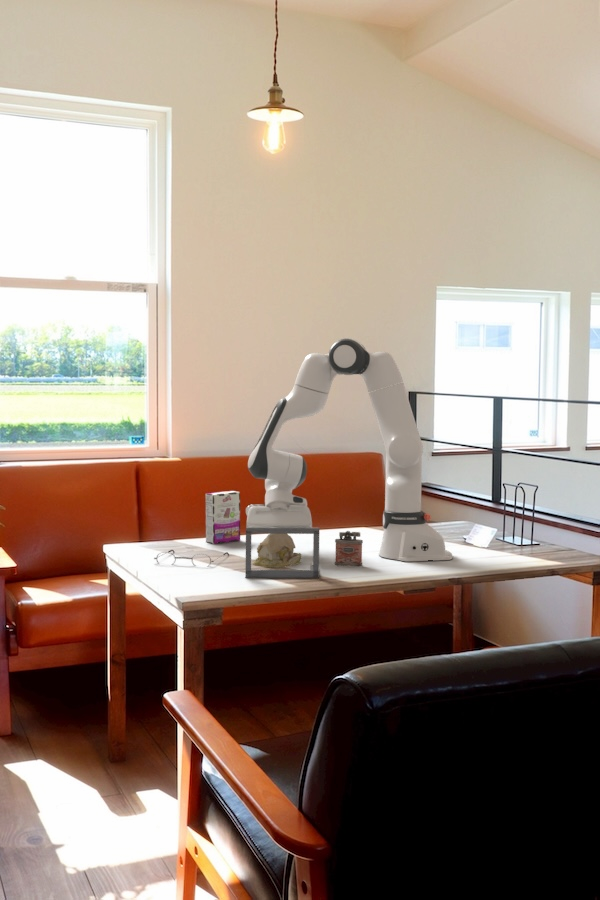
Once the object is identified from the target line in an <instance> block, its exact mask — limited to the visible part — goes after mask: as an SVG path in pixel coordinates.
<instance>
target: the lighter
mask: <svg viewBox="0 0 600 900" xmlns="http://www.w3.org/2000/svg"><path fill="white" fill-rule="evenodd" d="M338 535H339V538H336V539H334V542H335V560H334V565H335V566H340V567H363V542H364V541H363V540H362V539H357V537H359V538H360V537H361V532H360V531H352V532H351V531H350V530H346V531H339V534H338ZM352 537H353V538H352Z"/></svg>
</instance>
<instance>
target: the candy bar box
mask: <svg viewBox="0 0 600 900" xmlns="http://www.w3.org/2000/svg"><path fill="white" fill-rule="evenodd" d="M204 498H205V499H204V500H205V543H209V544H213V545H218V544H224V543H230V542H237V541H239V542H240V541H241V492H240V491H236V490H229V491H228V490H227V491H217V492H216V491H215V492H211V493H210V492H209V493H207V492H206V493H205V494H204Z"/></svg>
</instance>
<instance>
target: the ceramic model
mask: <svg viewBox="0 0 600 900" xmlns="http://www.w3.org/2000/svg"><path fill="white" fill-rule="evenodd" d="M294 549H296V544H295V542H294V540H293V538H292V536H291V535H290V534H267V536H266V537H265V539H264V540H263V541H262V542H259V545H258V546H257V549H256V553H257V558H256V559H255V560H254V561H253V562H251V565H254V566H259V567H264V568H271V567H276V568H286V567H290V565H291V566H295V565H298V564H300V563H301V560H302V554H301V552H294V551H295V550H294ZM285 566H286V567H285Z"/></svg>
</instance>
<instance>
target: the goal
mask: <svg viewBox="0 0 600 900" xmlns="http://www.w3.org/2000/svg"><path fill="white" fill-rule="evenodd" d="M253 534H258V535H260V534H267V535H269V534H288V535H292V534H293V535H294V534H295V535H303V534H306V535H310V534H311V535H312V534H313V535H312V538H313V540H312V541H313V545H312V547H313V548H312V552H313V553H312V555H313V556H312V564H310V569H252V535H253ZM319 571H320V527H313V526H312V527H247V526H246V527H245V577H244V578H245V579H319V577H320V575H319V574H320V572H319Z"/></svg>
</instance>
